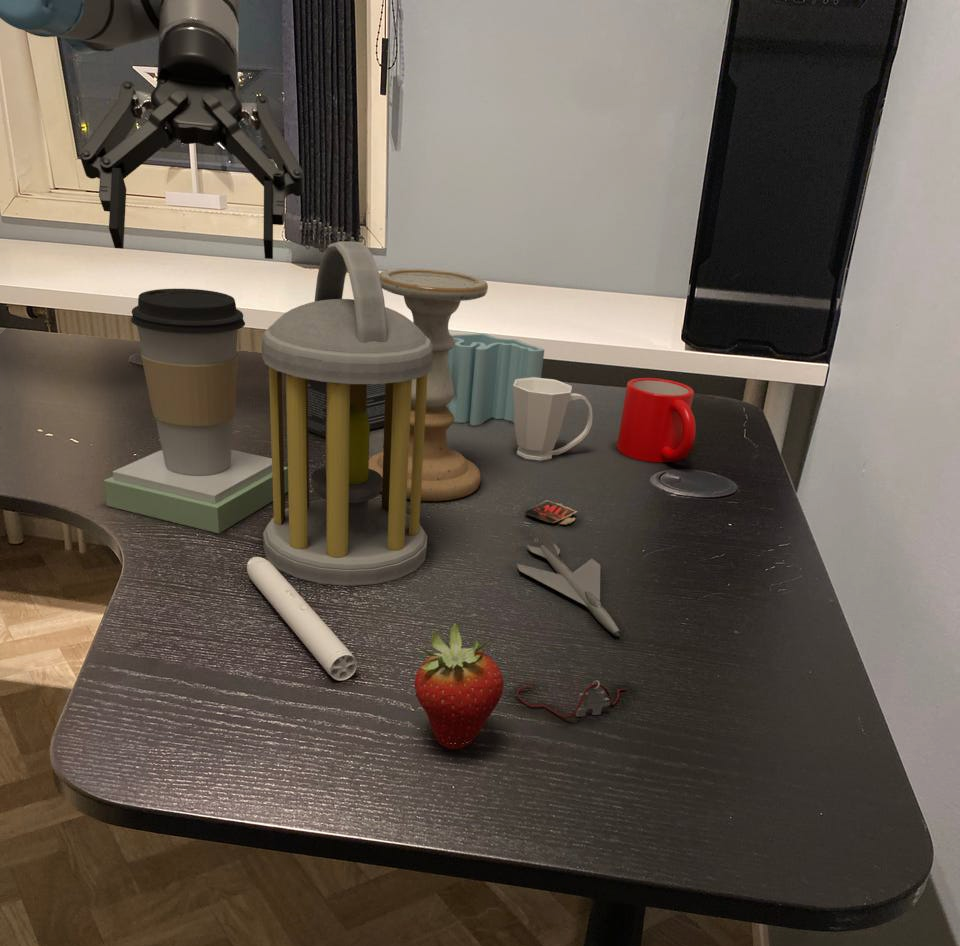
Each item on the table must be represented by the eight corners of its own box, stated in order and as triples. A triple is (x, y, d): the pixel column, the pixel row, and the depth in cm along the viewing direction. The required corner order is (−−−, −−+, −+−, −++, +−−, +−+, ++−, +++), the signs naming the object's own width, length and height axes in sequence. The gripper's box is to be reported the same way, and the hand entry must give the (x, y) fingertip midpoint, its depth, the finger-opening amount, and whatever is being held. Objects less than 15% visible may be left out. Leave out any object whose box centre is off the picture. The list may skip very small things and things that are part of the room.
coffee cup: (150, 447, 88) (133, 284, 81) (250, 448, 90) (243, 289, 83) (141, 483, 80) (122, 306, 73) (252, 483, 83) (244, 311, 75)
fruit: (413, 717, 59) (419, 609, 55) (495, 722, 59) (507, 615, 55) (409, 766, 55) (415, 653, 51) (498, 771, 55) (511, 659, 51)
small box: (361, 411, 115) (362, 325, 110) (396, 425, 112) (400, 337, 106) (294, 425, 108) (292, 334, 103) (330, 440, 104) (330, 347, 99)
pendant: (534, 728, 59) (539, 694, 58) (513, 691, 63) (517, 658, 61) (645, 716, 61) (653, 683, 60) (618, 681, 65) (625, 648, 64)
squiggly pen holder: (503, 403, 124) (509, 332, 119) (538, 425, 116) (547, 350, 112) (378, 409, 116) (380, 334, 112) (407, 434, 109) (411, 354, 104)
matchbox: (521, 516, 89) (522, 512, 89) (541, 501, 93) (541, 496, 93) (566, 528, 88) (566, 524, 88) (583, 512, 92) (584, 507, 92)
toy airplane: (572, 645, 69) (576, 619, 68) (485, 532, 86) (487, 509, 85) (662, 636, 71) (667, 611, 70) (560, 528, 88) (563, 506, 87)
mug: (658, 476, 103) (672, 408, 99) (604, 442, 113) (614, 378, 109) (714, 472, 106) (730, 405, 102) (657, 439, 116) (669, 376, 112)
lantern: (453, 573, 78) (477, 259, 65) (290, 596, 72) (282, 256, 59) (391, 509, 88) (402, 230, 76) (245, 525, 82) (230, 224, 70)
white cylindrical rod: (239, 573, 74) (237, 547, 73) (264, 569, 75) (263, 543, 74) (329, 684, 62) (329, 654, 60) (357, 677, 63) (358, 648, 61)
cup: (497, 444, 108) (504, 376, 104) (576, 444, 111) (585, 377, 107) (514, 464, 103) (522, 393, 99) (596, 464, 105) (607, 394, 101)
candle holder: (394, 452, 103) (402, 261, 93) (496, 474, 99) (516, 279, 89) (342, 486, 93) (344, 276, 82) (453, 512, 89) (470, 296, 79)
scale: (102, 505, 84) (98, 471, 82) (183, 466, 94) (180, 435, 92) (219, 534, 80) (216, 499, 79) (289, 491, 90) (288, 459, 89)
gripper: (326, 101, 96) (328, 278, 91) (73, 76, 91) (60, 260, 86) (327, 39, 89) (329, 227, 83) (53, 8, 84) (38, 204, 79)
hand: (193, 244), depth 85 cm, fingers open, 13 cm apart
